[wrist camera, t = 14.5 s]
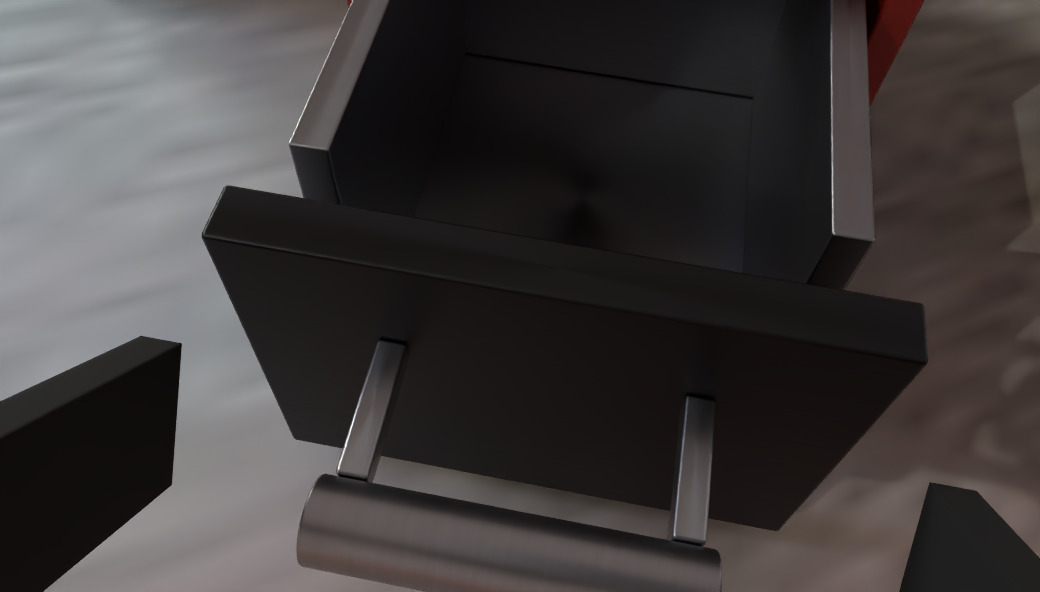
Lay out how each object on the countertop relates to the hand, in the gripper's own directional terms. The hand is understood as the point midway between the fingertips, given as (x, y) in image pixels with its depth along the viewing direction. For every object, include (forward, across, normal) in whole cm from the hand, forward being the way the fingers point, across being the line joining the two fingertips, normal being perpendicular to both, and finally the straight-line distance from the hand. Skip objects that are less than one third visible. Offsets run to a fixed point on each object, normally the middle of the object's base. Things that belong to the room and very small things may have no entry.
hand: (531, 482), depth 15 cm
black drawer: (+10, 0, +1) cm, 10 cm away
